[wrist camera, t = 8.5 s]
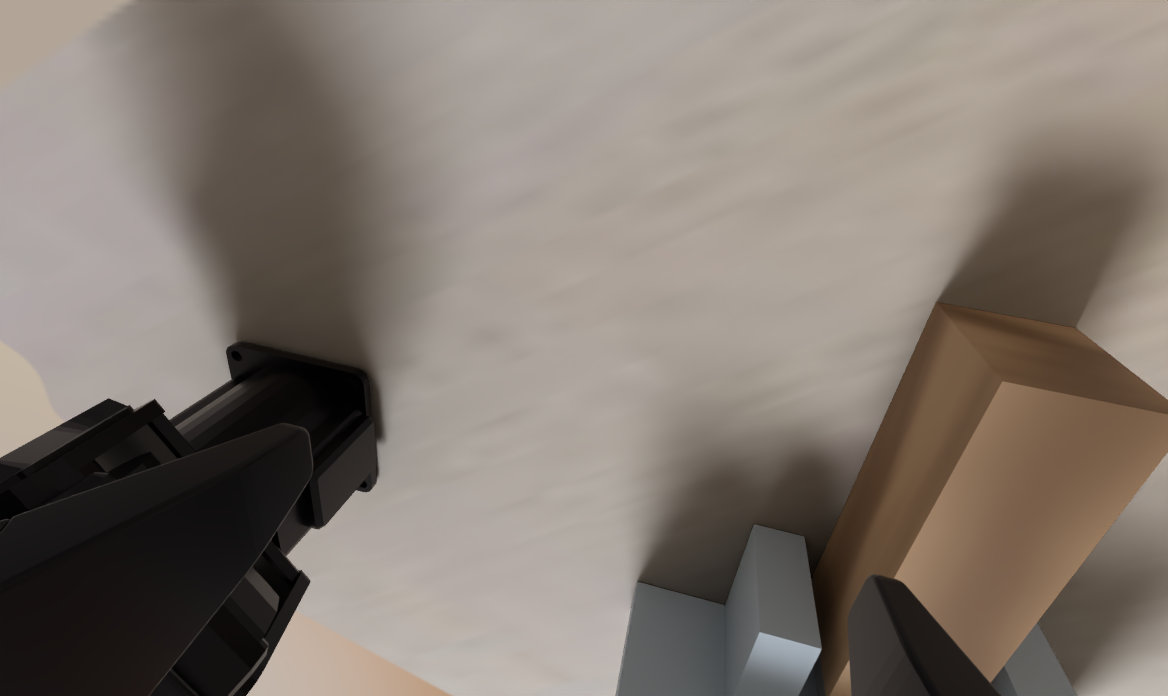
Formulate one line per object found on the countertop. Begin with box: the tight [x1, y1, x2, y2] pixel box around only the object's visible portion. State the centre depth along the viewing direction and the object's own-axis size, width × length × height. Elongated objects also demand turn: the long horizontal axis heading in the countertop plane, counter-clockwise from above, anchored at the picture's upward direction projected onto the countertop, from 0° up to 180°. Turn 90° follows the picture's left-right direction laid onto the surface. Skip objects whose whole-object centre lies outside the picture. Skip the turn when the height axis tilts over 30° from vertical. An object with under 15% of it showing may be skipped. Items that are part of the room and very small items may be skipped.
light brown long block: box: [811, 302, 1168, 696], centre depth 19 cm, size 4×14×5 cm, turn 173°
